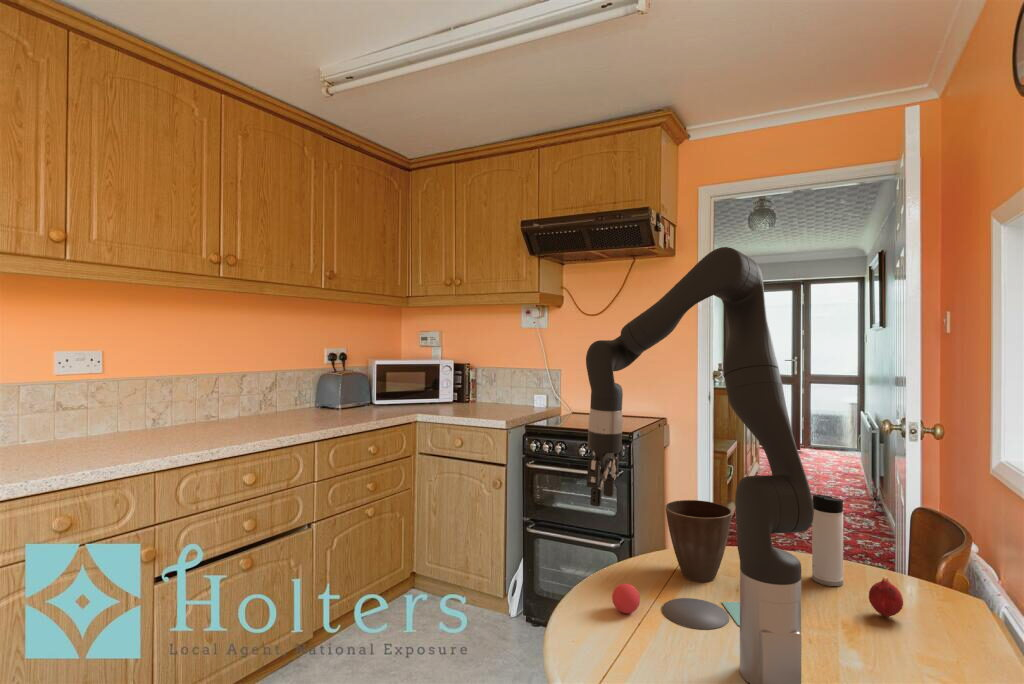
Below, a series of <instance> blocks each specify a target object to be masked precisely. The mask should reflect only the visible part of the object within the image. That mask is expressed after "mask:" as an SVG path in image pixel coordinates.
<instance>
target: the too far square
mask: <svg viewBox="0 0 1024 684" xmlns="http://www.w3.org/2000/svg"><path fill="white" fill-rule="evenodd" d="M721 604H722V605H723V606H724V608H725V609H726V612H727V613H728V615H730V616H731V618H732V619H733V620H734V622H735V623H736V624H737V626H738V627H740V601H721Z"/></svg>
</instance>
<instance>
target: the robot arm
mask: <svg viewBox="0 0 1024 684" xmlns="http://www.w3.org/2000/svg"><path fill="white" fill-rule="evenodd" d="M713 296H714V297H716V298H718V299H720V300H721V301H722V304H723V306H724V310H725V315H726V319H727V322H728V330H729V331H728V338H727V339H728V340H727V344H726V349H725V352H724V356H723V362H722V371H723V377H724V384H725V390H726V393H727V394H726V395H727V400H728V403H729V405H730V407H731V408H732V410H733V412H734V413H735V415H736V416H737V417H738V418H739V420H740V421H741V422H742V423H743V424H744V425H745V427H746V428H747V429H748V430H749V431H750V432H751V434H752V435H753V436H754V437H755V438H756V439H755V440H757V442H758V443H759V444H760V445H761V447H762V450H763V451H764V453H765V456H766V458H767V460H768V464H769V468H770V471H771V474H768V475H764V474H763V475H747V476H744V477H742V478H741V479H740V480H739V481H738V483H737V485H736V490H735V499H734V500H735V502H734V503H735V504H734V505H735V520H736V521H735V522H736V523H735V524H736V545H737V551H738V552H737V553H738V557H739V602H740V626H739V673H741V674H740V676H741V675H742V676H741V677H742V679H743V680H744V681H745V682H747V683H748V682H749V683H750V684H802V655H803V653H802V647H803V646H802V640H803V639H802V638H803V637H802V564H801V561H800V559H799V558H798V557H797V556H796V555H794V554H792V553H790V552H788V551H786V550H783V549H781V548H778V547H774V546H773V543H772V534H788V533H789V534H793V533H794V534H797V533H803V532H806V531H808V530H809V529H810V528H811V527H812V522H813V517H814V507H813V494H812V492H811V488H810V484H809V481H808V479H807V475H806V472H805V470H804V465H803V462H802V460H801V457H800V454H799V451H798V447H797V444H796V441H795V437H794V434H793V429H792V426H791V422H790V417H789V412H788V407H787V404H786V403H787V402H786V398H785V397H786V396H785V393H784V386H783V382H782V378H781V373H780V369H779V363H778V360H777V357H776V353H775V348H774V344H773V339H772V334H771V332H770V327H769V322H768V317H767V311H766V309H767V308H766V299H765V288H764V279H763V274H762V270H761V268H760V266H759V265H758V263H757V262H756V261H755V260H754V259H752V258H751V257H749V256H748V255H746V254H744V253H742V252H741V251H739V250H736V249H735V248H732V247H728V246H723V247H718V248H715V249H713V250H712V251H710V252H709V253H707V254H706V255H705V256H704V257H702V258H701V259H700V260H699V261H698V262H697V263H696V264H695V265H694V266H693V267H692V268H691V269H690V270H689V271H688V272H687V273H686V274H685V275H684V276H683V277H682V278H681V279H680V280H679V281H677V283H676V284H675V285H673V287H671V288H670V289H669V290H668V291H667V292H666V294H665V293H664V295H663V296H662V297H661V298H660V299H659V300H657V302H655V303H653V305H651V306H650V307H649V308H647V309H646V310H644V311H643V312H641V313H640V314H639V315H637V316H635V318H632V320H630V321H628V322H627V323H626V324H625V325H624V326H623V327H622V328H621V330H620V335H619V336H617V337H616V338H614V339H611V340H610V339H607V340H595V341H594V342H592V343H591V344H590V345H589V346H588V349H587V352H586V355H585V366H586V371H587V376H588V381H589V382H588V383H589V386H590V390H591V391H590V392H591V393H590V408H589V416H588V428H587V431H588V433H587V449H588V450H590V451H592V452H593V453H594V457H593V459H588V462H587V474H586V487H587V488H589V489H590V502H589V503H590V505H591V506H594V507H596V508H597V507H601V505H602V494H603V495H604V496H606V497H614V495H615V494H614V493H615V492H614V491H615V480H616V479H617V476H618V475H619V456H620V454H619V453H620V452H621V451H622V445H623V444H622V443H623V441H622V440H623V424H624V423H623V422H624V421H623V420H624V419H623V396H624V395H623V394H624V393H623V387H622V385H621V384H619V383H616V381H615V375H614V372H618V371H622V370H624V369H626V368H628V367H629V366H631V364H633V363H634V362H635V361H636V360H637V359H638V358H639V357H640V356H641V355H642V354H643V353H644V352H646V351H647V350H649V349H651V348H652V347H654V346H655V345H657V344H659V343H660V342H661V341H662V340H664V339H666V338H667V337H668V336H669V335H670V334H671V333H673V331H674V330H675V329H676V328H677V325H679V323H680V321H681V319H682V318H683V317H684V316H685V314H686V313H687V312H688V311H689V310H690V309H691V308H693V307H694V306H695V305H697V304H698V303H701V302H702V301H705V300H706V299H708V298H710V297H713ZM602 491H603V493H602ZM749 683H748V684H749Z"/></svg>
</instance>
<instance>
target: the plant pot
mask: <svg viewBox="0 0 1024 684" xmlns="http://www.w3.org/2000/svg"><path fill="white" fill-rule="evenodd" d="M664 507H665V513H666V514H665V515H666V519H667V520H666V521H667V526H668V531H669V537H670V539H671V543H672V548H673V550H674V551H673V552H674V555H675V557H676V560H677V563H678V565H679V569H680V572H681V573H682V576H683V577H684V578H685V579H687V580H690V581H694V582H697V583H699V582H700V583H701V582H702V583H708V582H709V583H710V582H712V581H714V580H715V579H716V577H717V574H718V571H719V569H720V566H721V564H722V561H723V558H724V555H725V551H726V548H727V547H726V546H727V542H728V538H729V535H730V533H729V532H730V527H731V521H732V520H731V519H732V515H733V512H732V509H731V508H729V507H728V506H726V505H723V504H720V503H717V502H713V501H707V500H700V499H699V500H697V499H696V500H695V499H683V500H673V501H670V502H668V503H666V505H665V506H664Z"/></svg>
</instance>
